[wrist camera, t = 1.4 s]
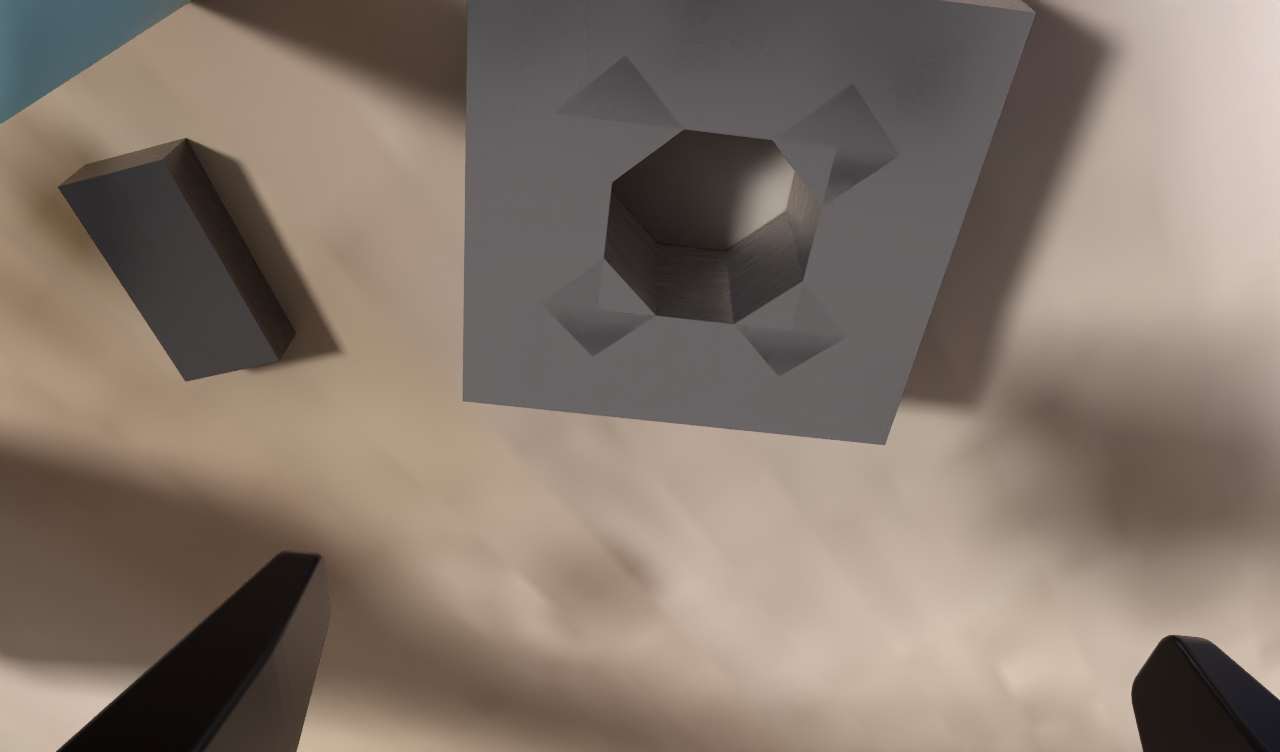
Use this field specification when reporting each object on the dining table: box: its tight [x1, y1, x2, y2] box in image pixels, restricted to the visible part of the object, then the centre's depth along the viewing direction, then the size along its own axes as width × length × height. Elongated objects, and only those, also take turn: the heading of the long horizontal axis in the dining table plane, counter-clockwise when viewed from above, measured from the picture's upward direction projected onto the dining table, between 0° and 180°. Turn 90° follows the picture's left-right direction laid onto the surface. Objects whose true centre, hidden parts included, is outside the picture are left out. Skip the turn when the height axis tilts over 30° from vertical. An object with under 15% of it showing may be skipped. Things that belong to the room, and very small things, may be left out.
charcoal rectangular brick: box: [58, 138, 296, 381], centre depth 21 cm, size 5×2×2 cm, turn 15°
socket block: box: [463, 0, 1036, 445], centre depth 19 cm, size 9×9×3 cm
